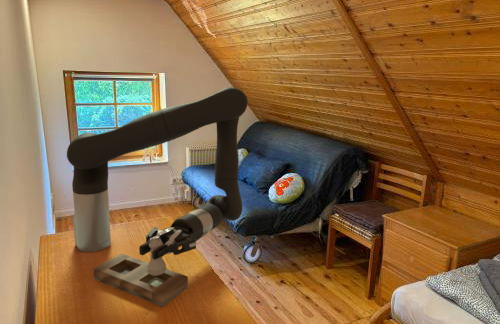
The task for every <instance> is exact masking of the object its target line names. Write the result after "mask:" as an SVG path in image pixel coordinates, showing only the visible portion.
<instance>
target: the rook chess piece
mask: <svg viewBox="0 0 500 324" xmlns="http://www.w3.org/2000/svg"><path fill="white" fill-rule="evenodd" d="M161 245H163V243H162V242H161V239H159V240H158V238H156V240H154V238H153V239H152V240H150V243H149V247H150V248H151V249H150V252H149V253H150V258H149V259H150V260H149V261H148V263H149V264H148V266H147V268H148V269H147V272H148V273H149V274H150V275H153V276H158V275H161V274H163V273H164V272H165V271H166V269H167V267H166V266H167V264H166V262H165V260H164V259H163V256H162V257H161V258H158V259H156V260H155V259H153V258H152V251H153V250H154V249H156V248H158V247H160V246H161Z"/></svg>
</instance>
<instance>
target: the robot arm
mask: <svg viewBox="0 0 500 324" xmlns="http://www.w3.org/2000/svg"><path fill="white" fill-rule="evenodd" d="M247 108H248V98H247V95H246V94H245V92H243V91H242V90H241V89H239V88H237V87H234V86H233V87H232V86H231V87H225V88H222V89H221V90H220V91H217V92H215V93H213V94H211V95H208V96H206V97H204V98H201V99H198V100H195V101H192V102H187V103H183V104H181V103H180V104H177V105H172V106H168V107H164V108H161V109H157V110H155V111H151V112H149V113H146V114H143V115H141V116H139V117H137V118H134V119H132V120H131V121H129V122H127V123H125V124H123V125H122V126H119V127H117V128H114V129H112V130H109V131H105V132H101V133H95V132H84V133H81V134H79V135H78V136H76V137H75V138H74V139H72V141H70V144H69V145H68V146H67V149H66V159H67V161H68V162H69V164H70V165H71V166H72V167H73V176H72V177H73V178H72V183H71V185H72V197H73V199H72V200H73V208H74V209H73V211H74V214H72V221H73V222H72V223H73V233H74V235H73V236H74V245H75V246H77V247H76V248H77V249H78V251H81V252H85V253H91V252H92V253H93V252H94V253H95V252H98V251H103V250H105V249H107V248H108V247H109V246H111V244H112V237H111V235H112V234H111V219H110V203H109V201H110V200H109V199H110V198H109V162H110V161H111V160H115V159H116V158H119V157H122V156H123V155H126V154H131V153H133V152H138V151H139V152H140V151H142V150H145V149H149V148H152V147H155V146H159V145H162V144H166V143H168V142H171V141H174V140H176V139H179V138H181V137H184V136H186V135H188V134H190V133H192V132H194V131H196V130H199V129H200V128H202V127H205V126H209V125H212V124H216V150H215V168H214V186H215V187H216V188H217V189H220V190H221V191H223V192H224V193H225V195H222V194H215V195H212V196H210V198H209V199H208V200H207V202H205V204H204V205H202V206H201V207H199V208H197V209H195V210H192V211H189V212H188V213H186V214H183V215H182V216H180V217H178V218H175V220H174V221H173V222H172V224H171V225H170V227H166V228H164V229H163V230H162V229H161V230H159V229H158V228H159V227H157V226H154V227H152V228H151V229H150V231H149V232H147V234H146V235H145V242H144V243H142V244H140V245H139V247H138V250H139V255H141V256H144V255H146V254H147V253H151V252H150V249H151V248H150V247H149V243H150V240H152V239H153V238H154V240H156V238H158V240H159V239H161V242H162V243H163V245H161V246H160V247H158V248H156V249H154V250H153V251H152V258H153V259H155V260H156V259H158V258H161V257H162V258H163V257H164V256H165V255H171V254H173V255H174V256H178V255H181V254H184V253H187V252H189V251H192V250H196V249H197V241H199V240H200V239H202V238H203V237H205V236H206V235H207V234H208V233H209V232H211V231H213V230H214V229H216V228H217V227H218V226H219V225H220V224H221V223H222V221H223V220H225V221H237V220H238V219H240V217H241V215H242V213H243V201H242V195H241V192H240V186H239V168H240V167H239V162H240V161H239V150H238V149H239V148H238V127H239V126H238V125H239V120H240V118H241V116H243V114H244V113H245V112H246V111H247Z"/></svg>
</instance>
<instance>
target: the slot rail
mask: <svg viewBox="0 0 500 324" xmlns="http://www.w3.org/2000/svg"><path fill="white" fill-rule="evenodd" d="M148 264H149V261H148V262H147V261H145V260H142V259H139V258H136V257H133V256H130V255H127V254H124V253H120V254H118V255H116V256H114V257H113V258H110V259H109V260H106V261H105V262H102V263H100V264H99V265H97V266H95V267H93V279H94V280H96V281H98V282H101V283H103V284H105V285H108V286H110V287H112V288H114V289H117V290H120V291H122V292H124V293H127V294H130V295H132V296H135V297H137V298H140V299H141V300H144V301H147V302H149V303H151V304H154V305H156V306H159V307H162V308H164V307H166V305H168V304H169V303H170V302H172V300H175V299H176V298H177V297H178V296H179V295H181V294H182V293H183V292H184V291H185V290H187V289H188V288H189V276H188V275H185V274H183V273H182V274H181V273H180V272H176V271H174V270H170V269H167V268H166V271H165V272H164V273H163V274H161V275H158V276H153V275H150V274H149V273H148V272H147V269H148V268H147V266H148Z"/></svg>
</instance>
